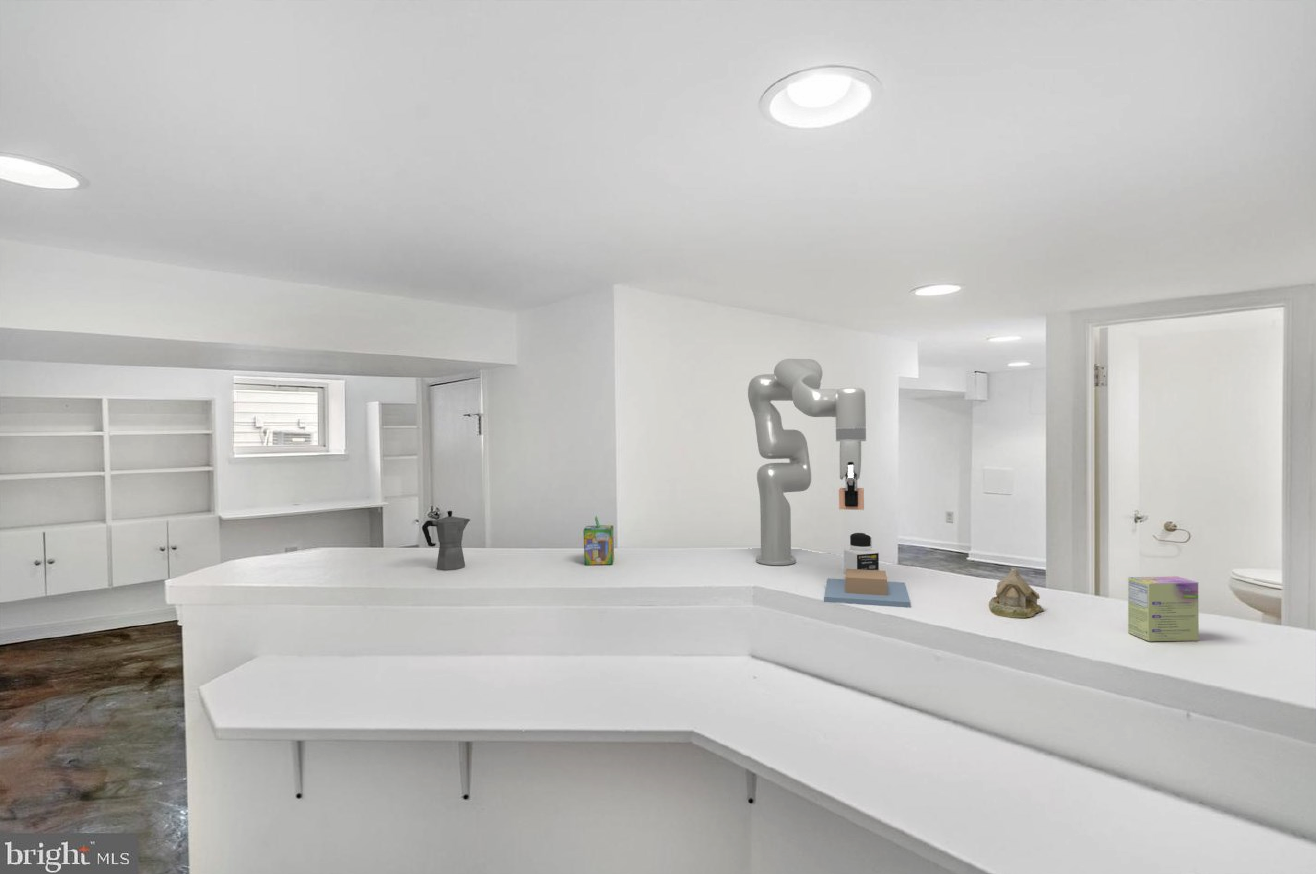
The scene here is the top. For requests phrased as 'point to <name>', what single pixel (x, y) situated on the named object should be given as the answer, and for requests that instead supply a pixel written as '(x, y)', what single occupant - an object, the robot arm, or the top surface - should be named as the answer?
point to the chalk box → (598, 544)
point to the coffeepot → (448, 541)
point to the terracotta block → (860, 499)
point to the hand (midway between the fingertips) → (851, 504)
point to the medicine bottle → (861, 553)
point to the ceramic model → (1014, 597)
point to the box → (1163, 608)
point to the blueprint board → (888, 600)
